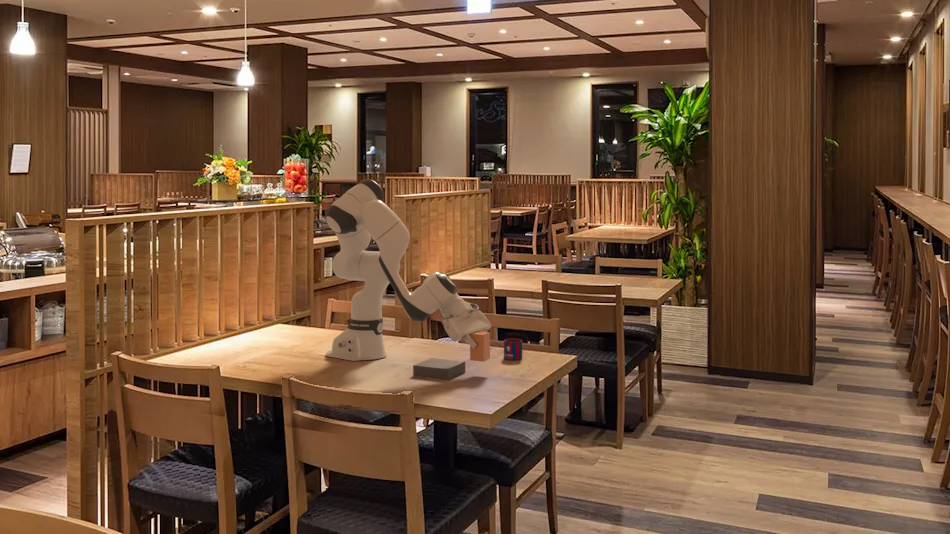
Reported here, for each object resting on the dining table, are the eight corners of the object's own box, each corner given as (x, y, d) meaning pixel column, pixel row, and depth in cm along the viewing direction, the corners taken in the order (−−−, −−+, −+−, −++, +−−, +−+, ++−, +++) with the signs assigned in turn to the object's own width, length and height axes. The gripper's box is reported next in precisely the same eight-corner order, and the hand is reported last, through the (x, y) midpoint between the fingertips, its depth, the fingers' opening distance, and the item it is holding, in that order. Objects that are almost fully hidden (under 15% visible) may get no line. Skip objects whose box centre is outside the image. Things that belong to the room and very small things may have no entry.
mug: (500, 359, 316) (500, 340, 315) (514, 354, 324) (514, 336, 324) (516, 361, 312) (516, 342, 312) (530, 356, 321) (530, 338, 320)
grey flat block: (413, 377, 289) (413, 365, 289) (431, 369, 301) (431, 358, 301) (448, 381, 284) (448, 369, 283) (465, 373, 296) (465, 361, 295)
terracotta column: (470, 360, 290) (470, 333, 289) (476, 357, 295) (476, 331, 294) (483, 361, 288) (483, 334, 287) (489, 358, 293) (490, 332, 292)
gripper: (444, 311, 285) (469, 344, 281) (479, 303, 302) (503, 334, 297) (434, 324, 288) (458, 356, 284) (469, 315, 305) (492, 345, 300)
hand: (481, 345), depth 291 cm, fingers closed on terracotta column, 5 cm apart
